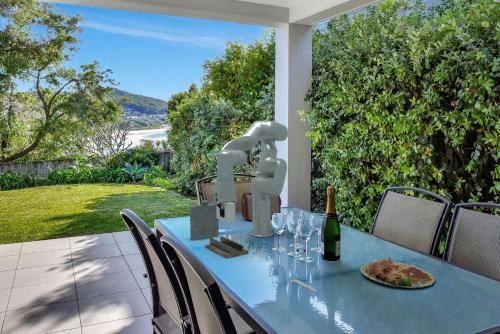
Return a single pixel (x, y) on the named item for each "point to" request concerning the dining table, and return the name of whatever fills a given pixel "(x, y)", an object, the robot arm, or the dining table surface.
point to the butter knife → (303, 284)
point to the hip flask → (203, 221)
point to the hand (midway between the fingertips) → (225, 216)
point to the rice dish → (397, 273)
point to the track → (226, 247)
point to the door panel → (227, 212)
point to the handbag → (248, 205)
